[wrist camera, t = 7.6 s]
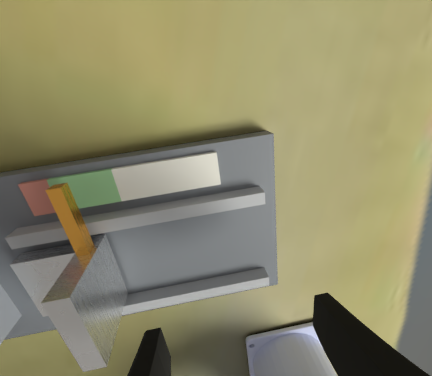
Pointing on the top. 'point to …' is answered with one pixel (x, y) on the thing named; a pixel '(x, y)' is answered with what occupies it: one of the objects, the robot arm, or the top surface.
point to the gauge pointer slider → (76, 285)
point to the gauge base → (151, 222)
